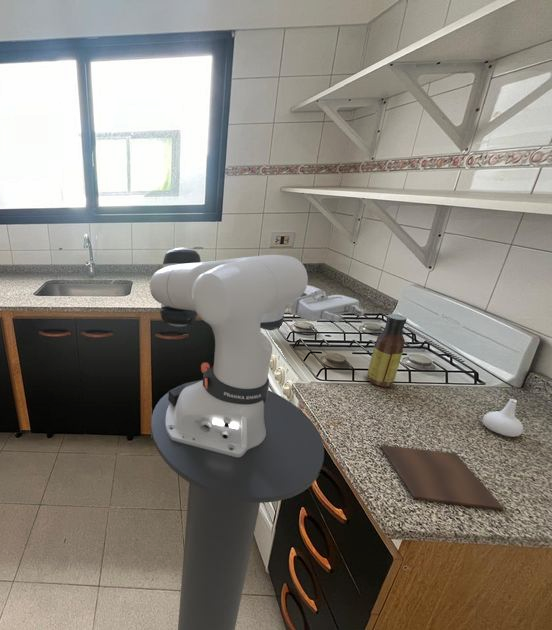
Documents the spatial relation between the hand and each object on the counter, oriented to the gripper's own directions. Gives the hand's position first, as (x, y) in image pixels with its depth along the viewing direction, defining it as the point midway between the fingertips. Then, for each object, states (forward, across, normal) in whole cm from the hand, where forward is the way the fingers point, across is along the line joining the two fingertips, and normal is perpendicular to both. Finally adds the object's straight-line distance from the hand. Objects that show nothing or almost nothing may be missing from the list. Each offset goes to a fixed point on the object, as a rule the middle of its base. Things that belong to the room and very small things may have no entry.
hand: (351, 316), depth 101 cm
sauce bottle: (+12, 0, -15) cm, 19 cm away
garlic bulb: (+36, -6, -15) cm, 39 cm away
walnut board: (+38, +21, -15) cm, 46 cm away
